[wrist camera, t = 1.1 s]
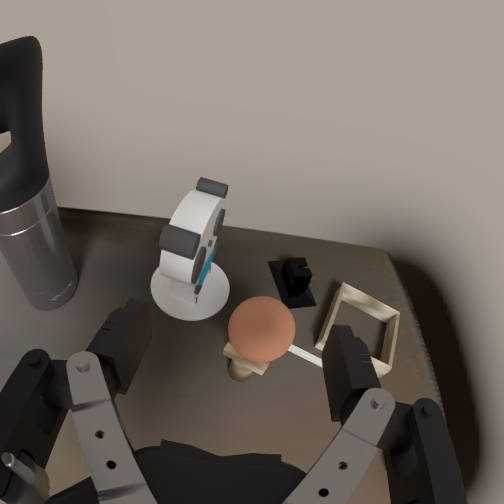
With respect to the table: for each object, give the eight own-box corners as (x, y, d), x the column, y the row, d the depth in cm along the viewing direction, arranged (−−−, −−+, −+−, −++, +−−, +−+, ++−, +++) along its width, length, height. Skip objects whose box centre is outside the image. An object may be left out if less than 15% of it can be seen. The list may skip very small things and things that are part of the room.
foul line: (253, 332, 37) (254, 331, 37) (257, 326, 38) (257, 326, 38) (366, 387, 34) (367, 387, 34) (368, 382, 35) (369, 381, 34)
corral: (314, 347, 37) (323, 337, 35) (335, 293, 45) (342, 282, 43) (379, 377, 35) (390, 369, 33) (390, 322, 43) (399, 312, 41)
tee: (215, 375, 32) (224, 347, 26) (232, 349, 35) (246, 314, 29) (247, 393, 31) (265, 369, 25) (262, 365, 34) (283, 335, 28)
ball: (212, 351, 26) (220, 320, 21) (241, 308, 30) (254, 271, 26) (268, 382, 24) (289, 357, 20) (292, 335, 29) (314, 303, 24)
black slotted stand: (323, 315, 42) (335, 298, 39) (279, 321, 40) (289, 304, 37) (297, 255, 50) (306, 237, 47) (258, 256, 48) (265, 237, 45)
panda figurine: (214, 336, 35) (233, 258, 25) (135, 306, 36) (121, 221, 25) (237, 270, 44) (260, 189, 34) (170, 248, 44) (174, 165, 34)
